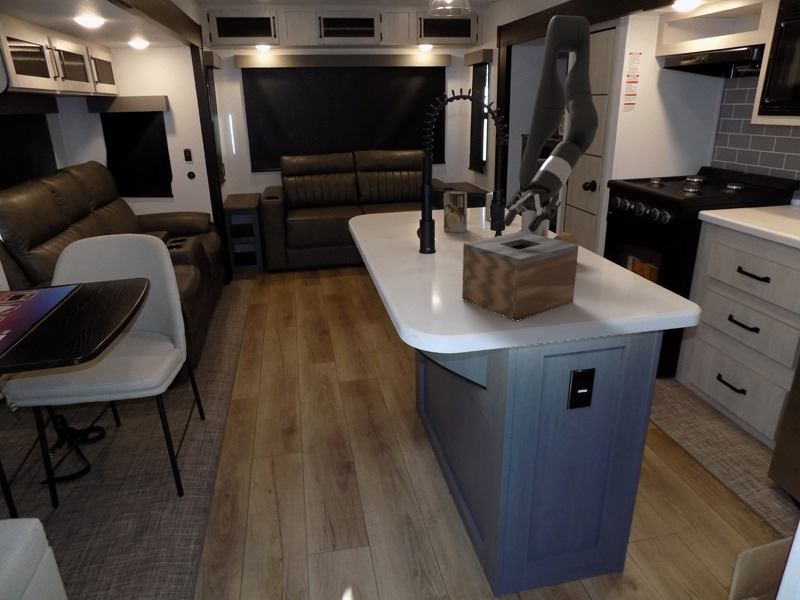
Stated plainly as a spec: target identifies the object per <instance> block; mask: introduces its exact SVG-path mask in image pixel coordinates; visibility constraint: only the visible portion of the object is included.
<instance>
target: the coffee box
mask: <svg viewBox="0 0 800 600" xmlns="http://www.w3.org/2000/svg"><path fill="white" fill-rule="evenodd" d="M467 221H468V191H445V192H444V193H443V232H448V231H454V233H465V232H466V231H467V230H468V228H467V227H468V226H467V225H468V222H467Z"/></svg>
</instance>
